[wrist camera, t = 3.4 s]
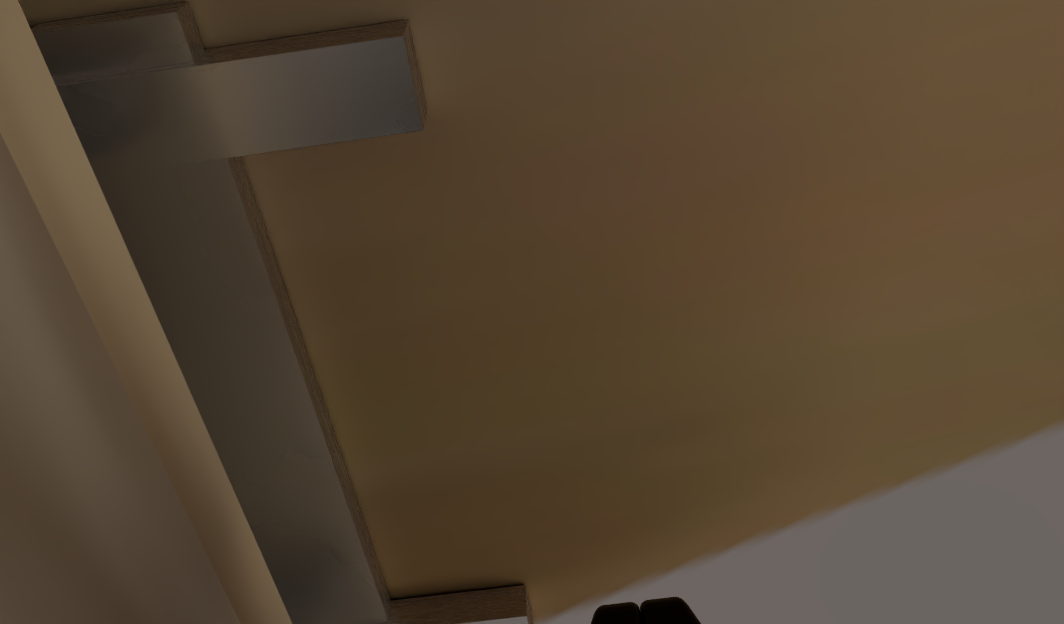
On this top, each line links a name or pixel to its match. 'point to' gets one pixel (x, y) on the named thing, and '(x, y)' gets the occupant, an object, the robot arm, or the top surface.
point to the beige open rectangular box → (97, 404)
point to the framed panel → (248, 266)
